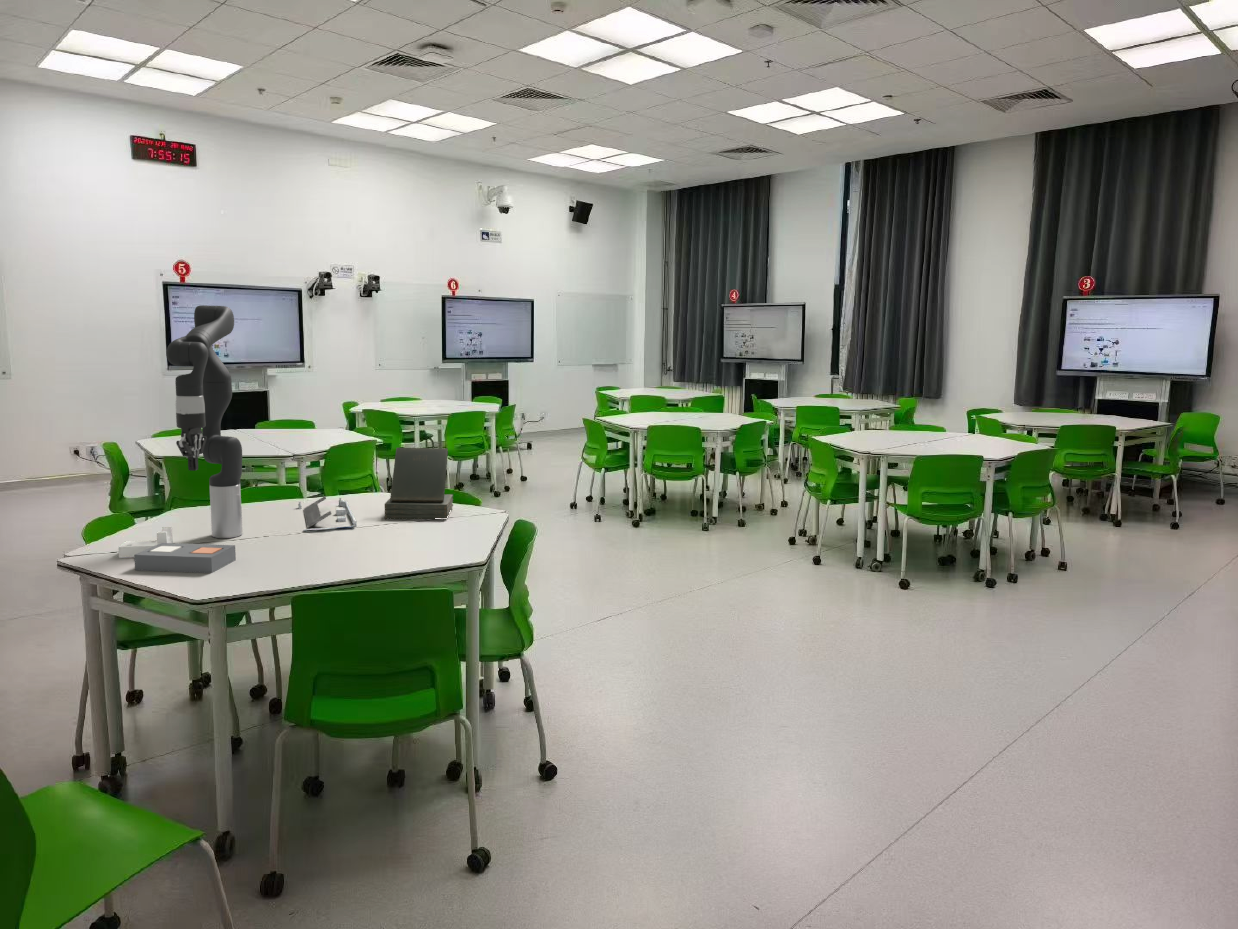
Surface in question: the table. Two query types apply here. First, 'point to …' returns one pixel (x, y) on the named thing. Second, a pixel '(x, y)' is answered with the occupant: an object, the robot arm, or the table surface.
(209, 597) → the table surface
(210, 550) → the terracotta key
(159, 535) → the bracket
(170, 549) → the off-white key
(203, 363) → the robot arm
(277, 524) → the table surface
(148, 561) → the key panel
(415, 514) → the upright slab on base
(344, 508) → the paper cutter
